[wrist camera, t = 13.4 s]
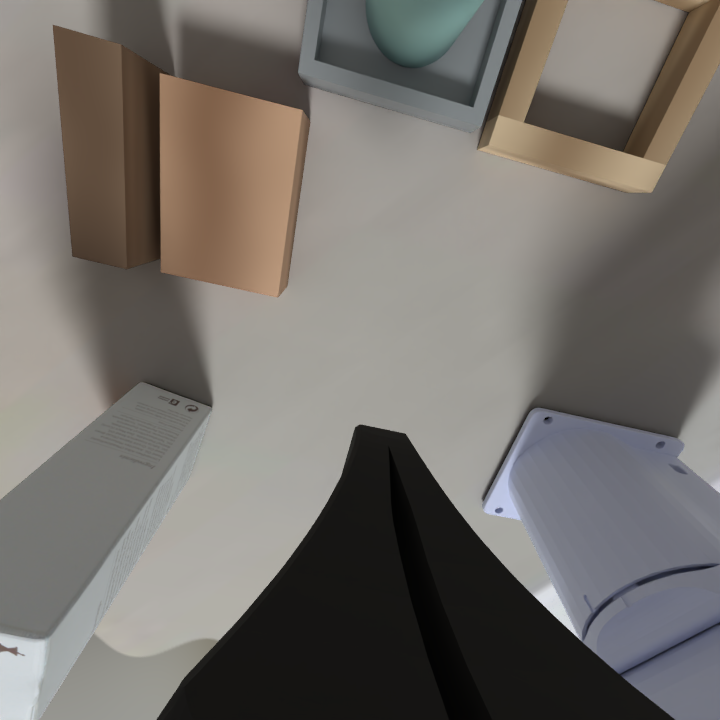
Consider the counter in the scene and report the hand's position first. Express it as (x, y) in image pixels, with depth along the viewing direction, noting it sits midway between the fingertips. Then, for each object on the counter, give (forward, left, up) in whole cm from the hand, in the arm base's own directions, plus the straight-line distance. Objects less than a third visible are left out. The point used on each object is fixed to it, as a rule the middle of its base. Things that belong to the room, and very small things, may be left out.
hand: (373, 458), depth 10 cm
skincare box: (+10, +9, -10) cm, 17 cm away
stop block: (+11, -5, -10) cm, 16 cm away
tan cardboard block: (+7, -5, -10) cm, 13 cm away
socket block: (-6, -13, -10) cm, 17 cm away
